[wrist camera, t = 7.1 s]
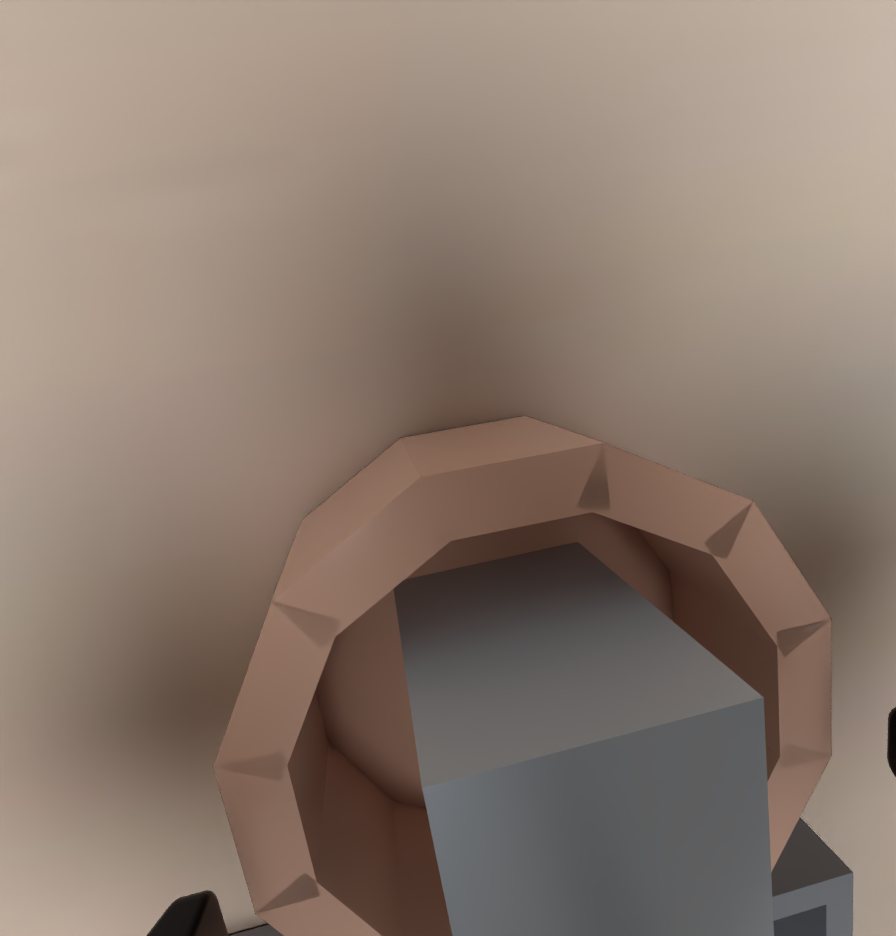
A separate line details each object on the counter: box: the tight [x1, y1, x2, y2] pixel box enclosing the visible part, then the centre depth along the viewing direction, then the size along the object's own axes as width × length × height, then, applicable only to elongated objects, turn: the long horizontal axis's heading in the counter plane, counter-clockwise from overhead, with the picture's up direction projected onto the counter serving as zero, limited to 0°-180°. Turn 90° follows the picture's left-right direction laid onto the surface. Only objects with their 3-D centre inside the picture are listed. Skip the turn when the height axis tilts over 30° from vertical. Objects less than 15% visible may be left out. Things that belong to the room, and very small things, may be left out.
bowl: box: [213, 416, 832, 936], centre depth 10 cm, size 9×9×4 cm
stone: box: [393, 542, 774, 936], centre depth 8 cm, size 4×4×5 cm
